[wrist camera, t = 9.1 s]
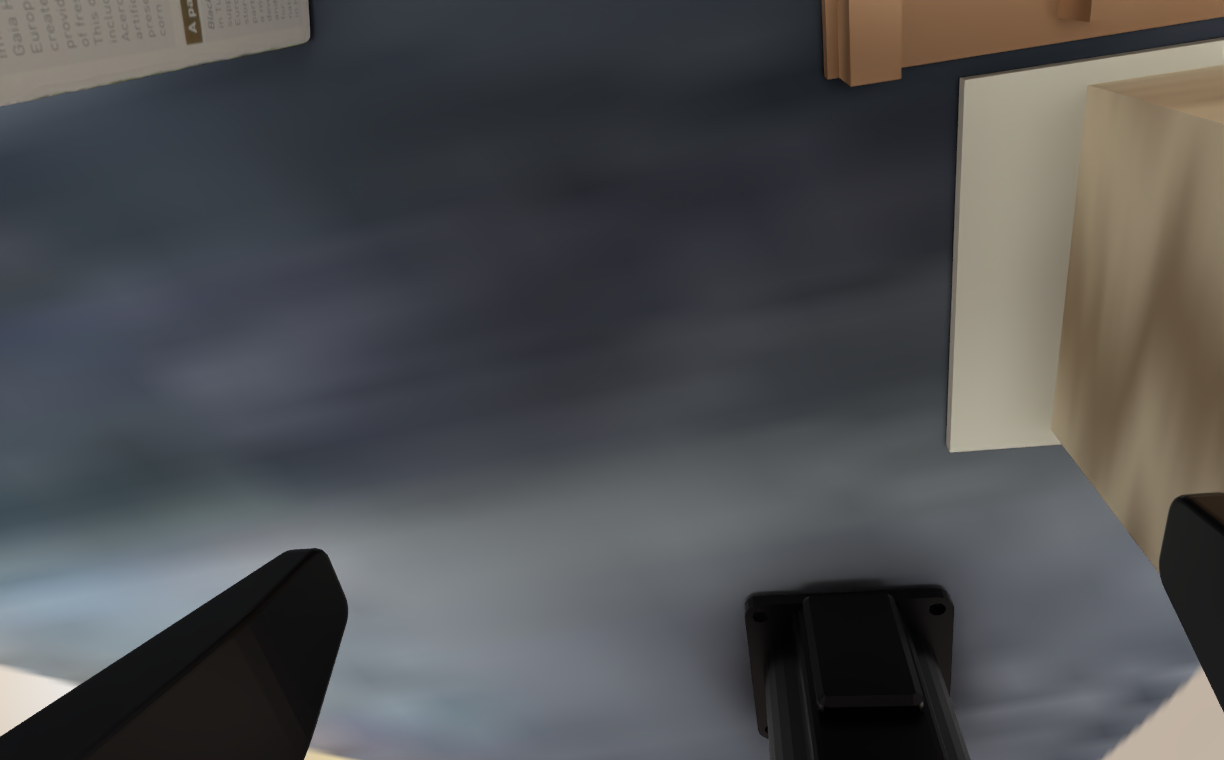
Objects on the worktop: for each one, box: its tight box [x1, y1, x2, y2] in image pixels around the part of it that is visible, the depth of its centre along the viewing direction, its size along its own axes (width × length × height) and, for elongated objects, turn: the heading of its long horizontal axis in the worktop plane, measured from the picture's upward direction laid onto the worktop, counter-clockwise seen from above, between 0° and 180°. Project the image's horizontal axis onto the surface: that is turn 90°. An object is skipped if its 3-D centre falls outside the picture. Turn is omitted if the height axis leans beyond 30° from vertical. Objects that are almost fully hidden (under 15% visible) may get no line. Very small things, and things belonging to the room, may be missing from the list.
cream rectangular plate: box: [946, 37, 1224, 452], centre depth 19 cm, size 10×8×1 cm
